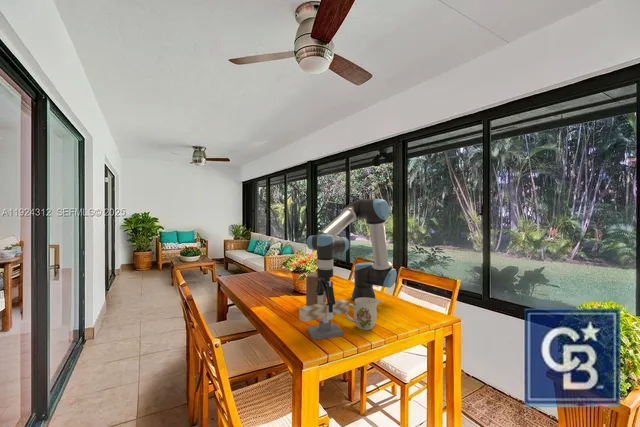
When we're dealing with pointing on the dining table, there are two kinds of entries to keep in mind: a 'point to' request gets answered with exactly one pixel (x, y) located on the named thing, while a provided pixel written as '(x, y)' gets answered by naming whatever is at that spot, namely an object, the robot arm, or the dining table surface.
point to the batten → (322, 310)
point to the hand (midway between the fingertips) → (324, 313)
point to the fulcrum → (324, 330)
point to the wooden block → (312, 289)
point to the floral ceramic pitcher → (364, 312)
